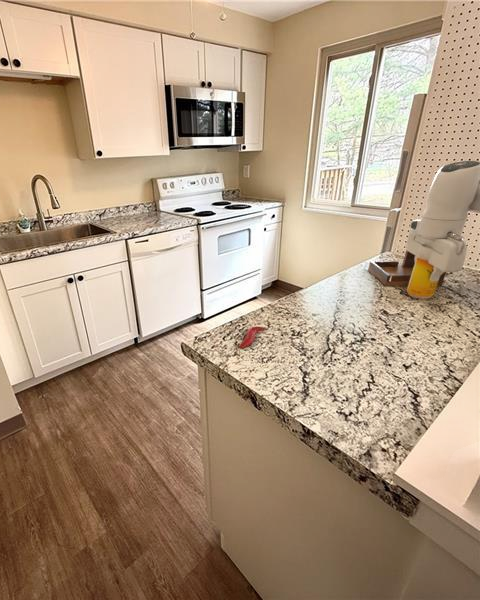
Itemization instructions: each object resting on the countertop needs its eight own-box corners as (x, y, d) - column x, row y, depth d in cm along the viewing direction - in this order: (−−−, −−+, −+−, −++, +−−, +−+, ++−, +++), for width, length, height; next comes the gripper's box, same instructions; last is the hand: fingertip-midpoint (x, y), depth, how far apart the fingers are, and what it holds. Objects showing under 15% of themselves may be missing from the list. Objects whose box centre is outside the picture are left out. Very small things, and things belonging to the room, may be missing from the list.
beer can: (432, 301, 88) (449, 250, 81) (404, 296, 91) (419, 247, 85) (433, 293, 92) (450, 244, 85) (407, 289, 95) (421, 242, 89)
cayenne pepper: (257, 325, 84) (258, 319, 84) (272, 332, 81) (273, 326, 80) (227, 342, 79) (227, 336, 78) (242, 350, 75) (242, 343, 74)
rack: (418, 270, 107) (425, 244, 104) (442, 286, 95) (452, 257, 91) (367, 270, 111) (373, 245, 107) (385, 285, 99) (392, 258, 95)
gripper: (482, 237, 73) (462, 290, 79) (432, 219, 91) (419, 264, 97) (450, 238, 75) (432, 290, 81) (407, 220, 93) (395, 264, 98)
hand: (425, 275), depth 89 cm, fingers closed on beer can, 6 cm apart
